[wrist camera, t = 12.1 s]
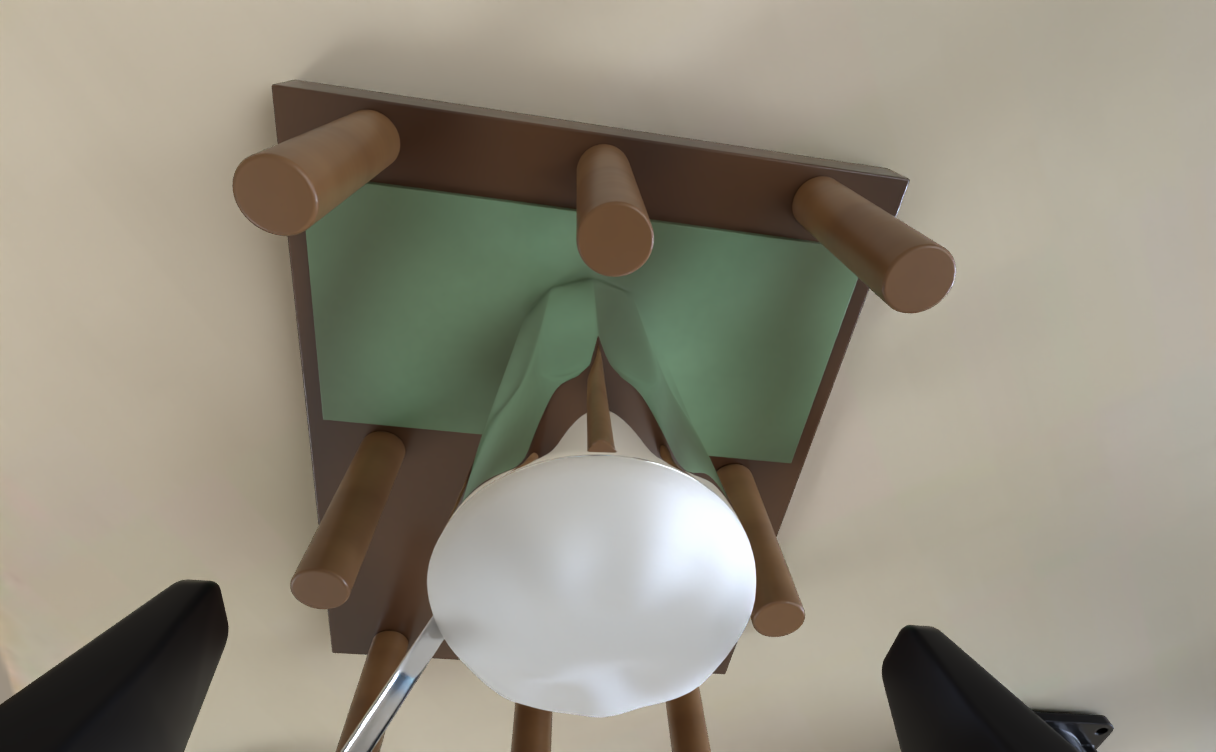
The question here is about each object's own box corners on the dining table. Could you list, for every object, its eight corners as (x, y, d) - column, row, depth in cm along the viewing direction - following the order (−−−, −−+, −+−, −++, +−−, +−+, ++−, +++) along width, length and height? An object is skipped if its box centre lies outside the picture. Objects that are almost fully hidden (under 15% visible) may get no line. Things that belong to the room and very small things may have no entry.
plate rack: (888, 168, 15) (1056, 248, 10) (719, 646, 24) (760, 827, 19) (293, 78, 14) (112, 117, 8) (343, 624, 23) (270, 813, 17)
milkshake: (438, 281, 15) (239, 653, 6) (660, 232, 14) (784, 552, 6) (495, 434, 17) (409, 866, 8) (688, 395, 17) (809, 804, 8)
